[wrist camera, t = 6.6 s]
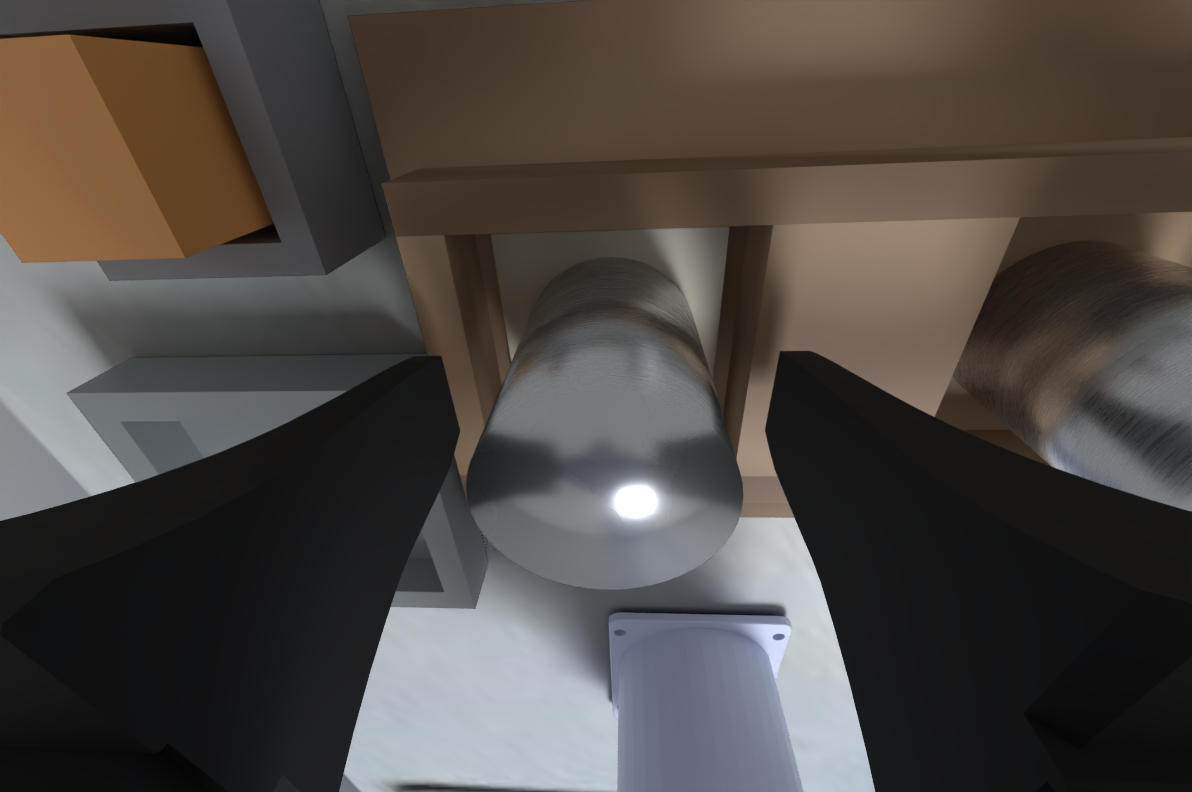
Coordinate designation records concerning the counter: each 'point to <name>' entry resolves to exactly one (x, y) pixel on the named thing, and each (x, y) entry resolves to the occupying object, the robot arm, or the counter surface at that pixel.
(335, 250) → the button housing
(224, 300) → the counter surface
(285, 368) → the shallow grey tray
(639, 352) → the billet
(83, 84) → the button
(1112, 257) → the cylinder
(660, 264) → the wooden compartment tray
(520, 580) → the counter surface
